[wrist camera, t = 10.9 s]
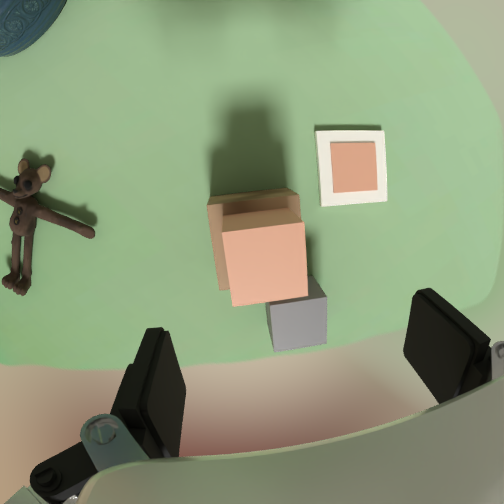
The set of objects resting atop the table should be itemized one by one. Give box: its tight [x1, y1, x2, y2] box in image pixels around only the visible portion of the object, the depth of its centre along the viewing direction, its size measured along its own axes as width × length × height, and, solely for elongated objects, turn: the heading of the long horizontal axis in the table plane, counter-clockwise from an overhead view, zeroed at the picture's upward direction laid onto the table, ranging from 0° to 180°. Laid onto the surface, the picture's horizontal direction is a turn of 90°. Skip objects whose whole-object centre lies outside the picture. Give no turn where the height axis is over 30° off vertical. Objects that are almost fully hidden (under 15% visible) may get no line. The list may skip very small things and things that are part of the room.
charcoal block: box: [265, 275, 327, 352], centre depth 29 cm, size 5×5×5 cm
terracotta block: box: [222, 208, 308, 307], centre depth 21 cm, size 5×5×5 cm
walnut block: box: [207, 188, 301, 290], centre depth 26 cm, size 7×7×5 cm
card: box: [314, 130, 387, 207], centre depth 27 cm, size 7×7×1 cm
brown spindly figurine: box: [0, 158, 95, 296], centre depth 25 cm, size 18×4×14 cm
